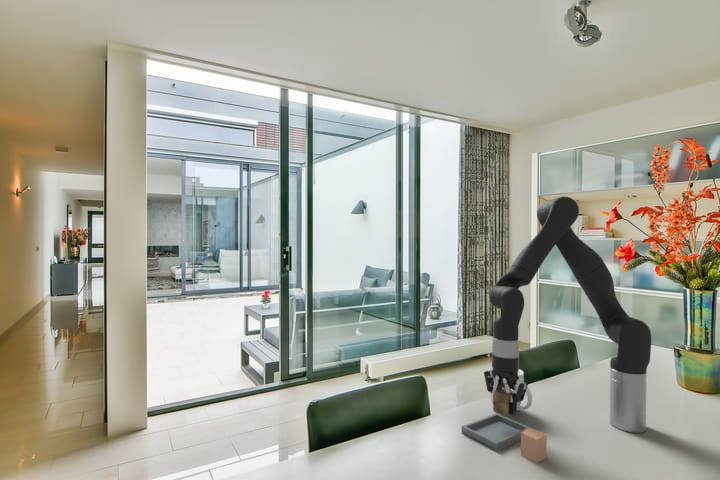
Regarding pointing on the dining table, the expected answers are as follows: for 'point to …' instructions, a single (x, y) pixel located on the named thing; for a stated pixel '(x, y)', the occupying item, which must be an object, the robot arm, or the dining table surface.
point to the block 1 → (501, 402)
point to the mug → (521, 377)
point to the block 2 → (534, 445)
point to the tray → (495, 431)
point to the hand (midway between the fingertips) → (504, 410)
